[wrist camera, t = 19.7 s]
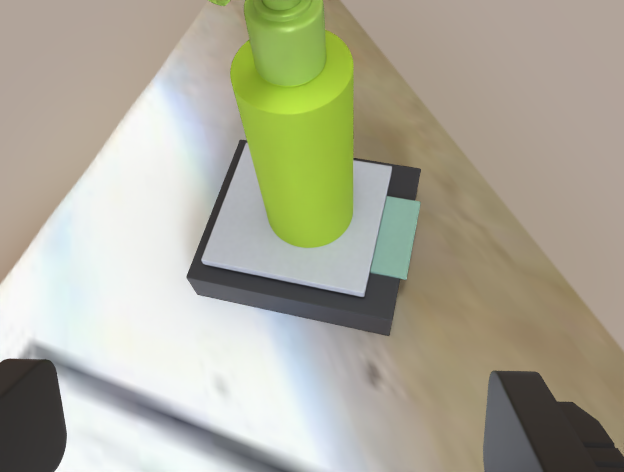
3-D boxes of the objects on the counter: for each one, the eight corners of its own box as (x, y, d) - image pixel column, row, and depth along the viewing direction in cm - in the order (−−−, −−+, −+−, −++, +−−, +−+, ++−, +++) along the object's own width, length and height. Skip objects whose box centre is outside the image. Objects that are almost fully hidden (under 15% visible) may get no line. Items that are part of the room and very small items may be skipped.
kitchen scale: (422, 192, 42) (428, 160, 39) (395, 337, 37) (399, 316, 33) (246, 162, 45) (237, 130, 41) (197, 294, 39) (181, 270, 36)
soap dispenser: (239, 225, 37) (137, -52, 20) (306, 161, 39) (269, -139, 22) (303, 275, 35) (253, 14, 17) (370, 204, 37) (386, -90, 20)
